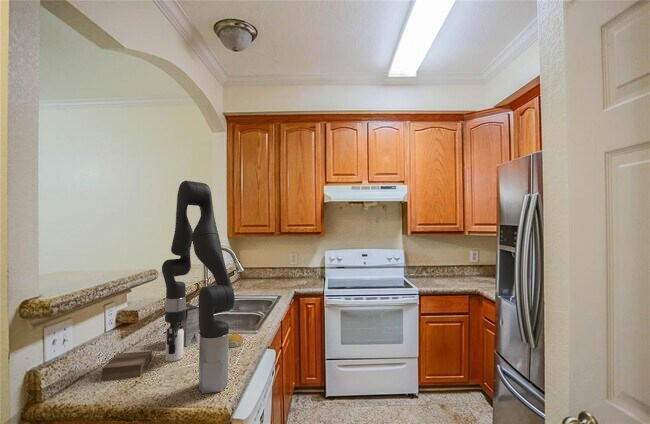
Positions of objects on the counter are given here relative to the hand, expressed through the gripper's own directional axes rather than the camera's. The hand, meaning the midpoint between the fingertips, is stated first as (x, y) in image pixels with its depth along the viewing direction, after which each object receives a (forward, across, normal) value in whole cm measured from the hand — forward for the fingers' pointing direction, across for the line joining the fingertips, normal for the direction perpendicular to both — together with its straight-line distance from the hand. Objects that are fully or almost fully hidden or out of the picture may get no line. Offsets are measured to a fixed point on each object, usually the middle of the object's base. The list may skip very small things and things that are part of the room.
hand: (174, 349), depth 124 cm
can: (+4, 0, 0) cm, 4 cm away
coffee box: (+4, +17, -1) cm, 17 cm away
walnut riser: (+4, -7, +14) cm, 16 cm away
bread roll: (+4, +11, -22) cm, 25 cm away
